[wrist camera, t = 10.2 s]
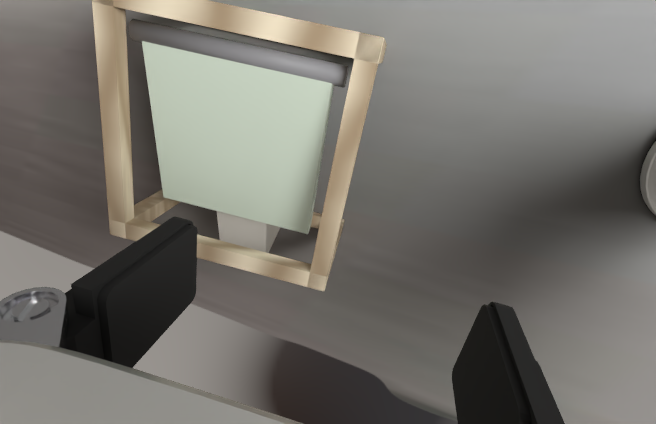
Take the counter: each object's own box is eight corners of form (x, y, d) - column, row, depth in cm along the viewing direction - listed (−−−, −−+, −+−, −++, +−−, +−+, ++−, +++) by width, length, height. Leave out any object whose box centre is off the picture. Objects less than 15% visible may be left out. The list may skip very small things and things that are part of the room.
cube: (266, 218, 33) (265, 258, 37) (283, 186, 37) (280, 226, 41) (215, 205, 33) (220, 246, 37) (237, 174, 37) (239, 215, 41)
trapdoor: (349, 64, 24) (346, 68, 23) (319, 228, 33) (315, 237, 32) (139, 18, 25) (126, 20, 24) (163, 188, 34) (154, 196, 33)
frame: (386, 44, 32) (383, 37, 22) (341, 231, 40) (324, 291, 30) (184, 2, 33) (90, -25, 23) (180, 190, 41) (110, 234, 31)
